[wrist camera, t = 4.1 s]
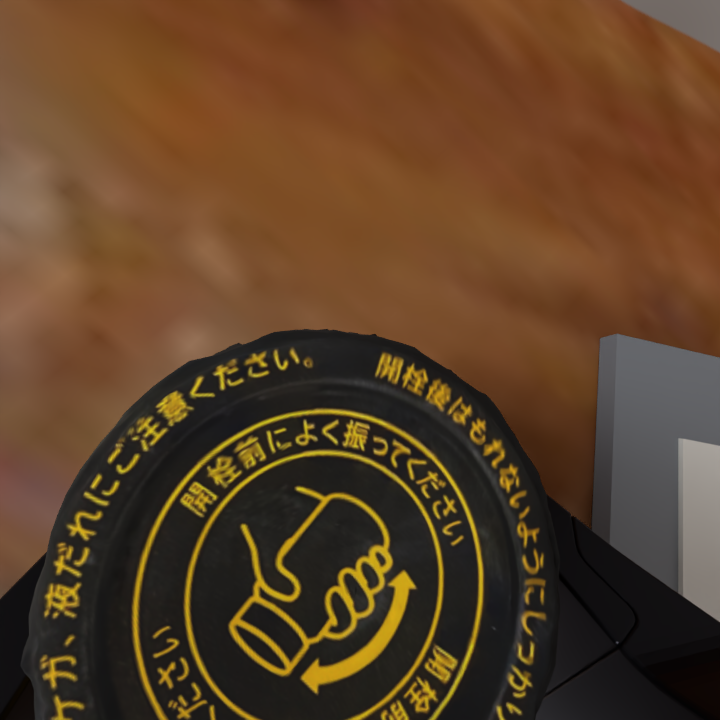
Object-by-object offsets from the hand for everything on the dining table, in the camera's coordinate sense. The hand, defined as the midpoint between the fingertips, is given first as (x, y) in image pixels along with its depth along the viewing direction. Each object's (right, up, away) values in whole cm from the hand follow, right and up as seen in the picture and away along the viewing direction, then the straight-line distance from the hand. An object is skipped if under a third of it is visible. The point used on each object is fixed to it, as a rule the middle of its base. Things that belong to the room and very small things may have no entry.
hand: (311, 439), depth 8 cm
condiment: (0, -2, +7) cm, 7 cm away
